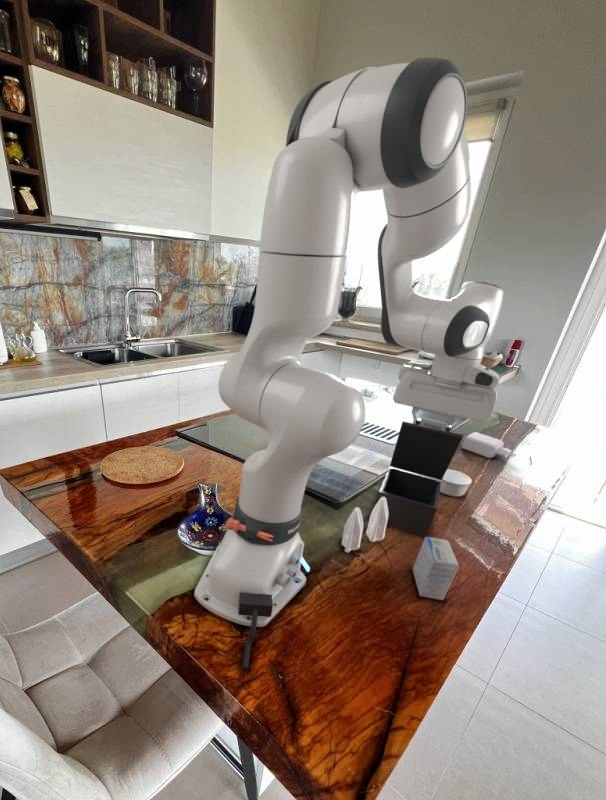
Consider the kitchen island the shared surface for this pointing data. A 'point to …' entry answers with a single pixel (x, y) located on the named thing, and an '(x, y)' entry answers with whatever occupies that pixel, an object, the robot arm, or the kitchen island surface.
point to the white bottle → (485, 446)
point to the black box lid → (425, 448)
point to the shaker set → (374, 527)
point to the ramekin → (454, 483)
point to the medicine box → (435, 568)
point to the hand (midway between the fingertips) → (431, 430)
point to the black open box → (410, 500)
